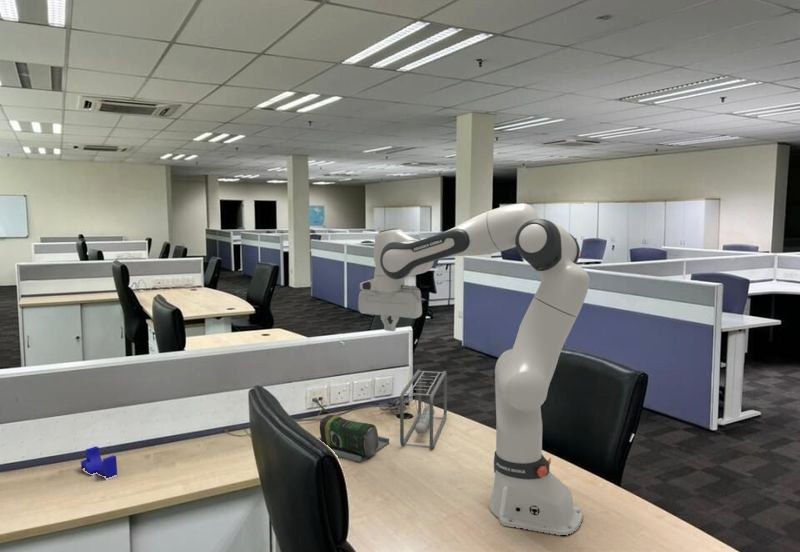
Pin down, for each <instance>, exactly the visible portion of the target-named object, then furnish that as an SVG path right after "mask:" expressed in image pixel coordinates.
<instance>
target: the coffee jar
mask: <svg viewBox="0 0 800 552" xmlns="http://www.w3.org/2000/svg"><path fill="white" fill-rule="evenodd" d="M319 434H320V437H321V440H322V442H324V443H325V444H326V445H328V446H329V447H331V448H335V447H336V448H341V449H344V450H346V451H349V452H352V453H354V454H357V455H359V456H362V457H365V458H367V459H369V458H371V457H372V456H373V455H375V454H376V453H377V452H376V450H377V448H378V445H379V440H378V436H379V433H378V428H377V426H376V425H375V424H372V423H367V422H359V421H354V420H348V419H345V418H343V417H341V416H339V415H337V414H336V415H335V414H328V415H326V416H324V417H323V418H322V419H321V420H320V422H319ZM375 452H376V453H375ZM374 453H375V454H374Z"/></svg>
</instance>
